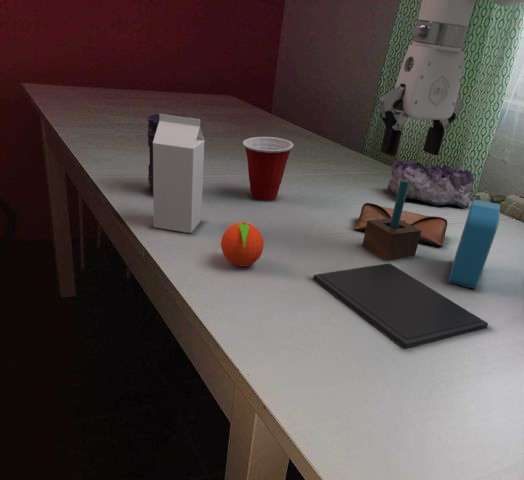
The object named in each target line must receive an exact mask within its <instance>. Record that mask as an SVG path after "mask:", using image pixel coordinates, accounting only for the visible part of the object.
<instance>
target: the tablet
mask: <svg viewBox="0 0 524 480" xmlns="http://www.w3.org/2000/svg"><path fill="white" fill-rule="evenodd" d="M313 280H314V281H315V282H317V284H319V285H321V286H322V287H323V288H324V289H326V290H327V291H328V292H329V293H331V294H332V295H333V296H335V297H336V298H337V299H339V300H340V301H342V302H343V303H344V304H346V305H347V306H348V307H350V308H351V309H352V310H353V311H355V312H356V313H357V314H358V315H360V316H361V317H363V318H364V319H365V320H367V321H368V322H369V323H371V324H372V325H373V326H374V327H375V328H377V329H378V330H380V331H381V332H383V333H384V334H385V335H386V336H388V337H389V338H391V339H392V341H394V342H395V343H397V344H398V345H400V346H401V347H402V348H404V349H408V348H412V347H413V348H414V347H417V346H420V345H424V344H425V345H426V344H429V343H433V342H437V341H440V340H445V339H448V338H454V337H457V336H460V335H464V334H468V333H469V334H470V333H472V332H476V331H480V330H484V329H487V328H488V326H489V323H488V321H485V320H484V319H482V318H480V317H479V316H477V315H475V313H472V312H470V311H469V310H467V309H465V308H464V307H462V306H460V305H459V304H457V303H455V302H454V301H453V300H451V299H449V298H448V297H446V296H444V295H443V294H441V293H440V292H438V291H437V290H434V289H433V288H431V287H429V286H427V285H426V284H425V283H423V282H421V281H420V280H418V279H416V278H415V277H413V276H411V275H409V274H408V273H407V272H405V271H404V270H402V269H400V268H398V267H397V266H395V265H394V264H392V263H389V262H388V263H382V264H376V265H369V266H363V267H356V268H350V269H349V268H348V269H343V270H336V271H329V272H323V273H316V274H313Z"/></svg>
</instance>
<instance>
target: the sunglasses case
mask: <svg viewBox="0 0 524 480" xmlns="http://www.w3.org/2000/svg"><path fill="white" fill-rule="evenodd" d="M393 211H394V208H391V207H385V206H382V205H378V204H375V203H370V202H365V203H364V204H363V205H362V206H361V209H360V214H359V217H358V220H357V221H356V224H355V226H354V230H356V231H364V232H365V230H366V225H367V221H368V220H377V219H387V218H392V215H393ZM400 220H402V221H404V222H406V223H408V224H410V225H412V226H414V227H416V228H418V229H419V230H421V235H420V238H419V242H418V244H422V245H423V244H424V245H430V246H431V245H432V246H433V245H434V246H439V247H444V242H445V239H446V237H445V236H446V232H447V228H448V220H447V219H446V218H444V217H442V216H436V215H435V216H434V215H433V216H432V215H427V214H422V213H421V214H420V213H416V212H412V211H407V210H402V214H401V218H400Z"/></svg>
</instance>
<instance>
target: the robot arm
mask: <svg viewBox="0 0 524 480" xmlns="http://www.w3.org/2000/svg"><path fill="white" fill-rule="evenodd" d="M489 1H491V2H493V3H494V4H496V5H498V6H500V7H513V6H516V5H519V4H521V3H523V2H524V0H489ZM420 3H421V4H420V8H419V13H418V15H417V21H416V25H414V26H413V27H412V29H411V35H412V36H413V38H412V43H411V44H409V45H408V48H407V51H406V52H405V56H404V58H403V60H402V64H401V67H400V71H399V73H398V75H397V80H396V83H395V86H394V89H392V90H390V91H388V92H387V93H385V94H384V95H382V96H380V97H379V99H378V104H379V110H380V115H379V116H380V118H381V120H382V125H383V127H385V129H384V134H383V139H382V142H381V145H380V146H381V147H380V152H381V153H383V154H386V155H388V156H390V157H395V156H396V155H397V152H398V148H399V144H400V141H401V135H402V130H400V128H401V127H402V126H403V125H404V123H405V122H406V121H407V120H408V119H409V118H410V119H412V120H426V121H429V120H430V123H431V124H432V126H429V128H428V129H427V134H426V137H425V141H424V145H423V152H424V153H427V154H431V155H432V156H438V155H439V154H440V151H441V147H442V143H443V141H444V140H443V139H444V136H445V133H446V132H447V131H448V130H449V129H450V125H451V124H453V122H454V121H455V120H456V118H457V115H458V113H459V112H460V111H461V109H462V107H463V104H464V102H463V101H462V100H461V99H460V97H459V91H460V87H461V82H462V77H463V70H464V63H465V51H462V50H463V47H464V43H465V39H466V36H467V32H468V27H469V25H470V21H471V18H472V14H473V10H474V7H475V4H476V0H421V2H420Z"/></svg>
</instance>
